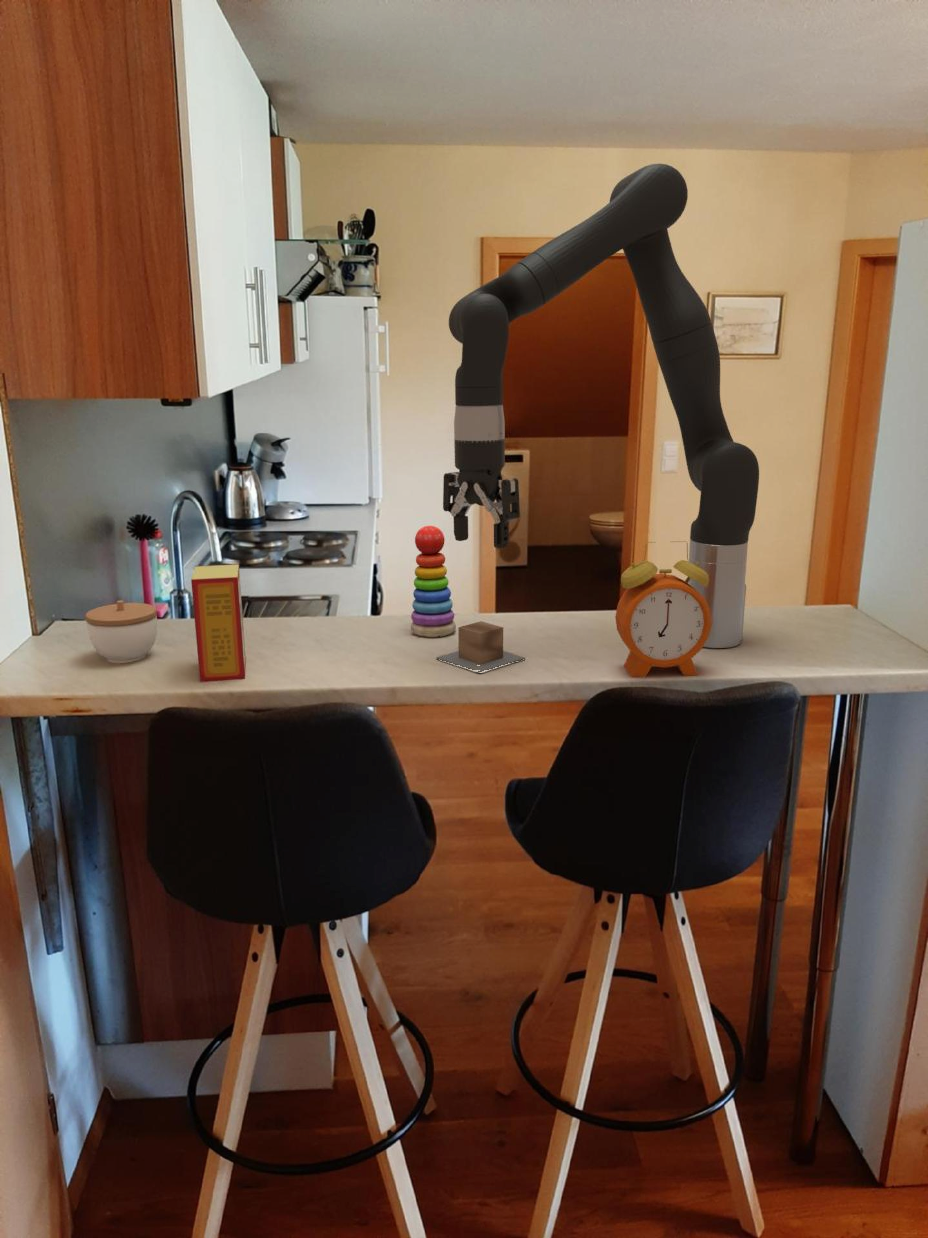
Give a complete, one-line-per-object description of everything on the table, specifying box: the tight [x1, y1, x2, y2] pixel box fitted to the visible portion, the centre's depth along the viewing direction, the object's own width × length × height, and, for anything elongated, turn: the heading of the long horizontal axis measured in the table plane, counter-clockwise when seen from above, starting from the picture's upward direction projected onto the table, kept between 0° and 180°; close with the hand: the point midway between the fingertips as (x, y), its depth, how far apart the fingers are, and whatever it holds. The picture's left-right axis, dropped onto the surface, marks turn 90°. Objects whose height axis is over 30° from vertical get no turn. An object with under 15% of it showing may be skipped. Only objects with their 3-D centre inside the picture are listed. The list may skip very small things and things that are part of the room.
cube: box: [458, 620, 504, 665], centre depth 148 cm, size 5×5×5 cm
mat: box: [435, 650, 526, 672], centre depth 148 cm, size 10×10×1 cm
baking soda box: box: [190, 563, 247, 683], centre depth 142 cm, size 10×6×16 cm
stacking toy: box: [410, 525, 457, 638], centre depth 161 cm, size 8×8×19 cm
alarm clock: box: [614, 540, 711, 678], centre depth 140 cm, size 13×6×20 cm, turn 94°
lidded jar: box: [84, 600, 158, 664], centre depth 150 cm, size 11×11×9 cm
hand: (480, 543), depth 143 cm, fingers open, 8 cm apart
